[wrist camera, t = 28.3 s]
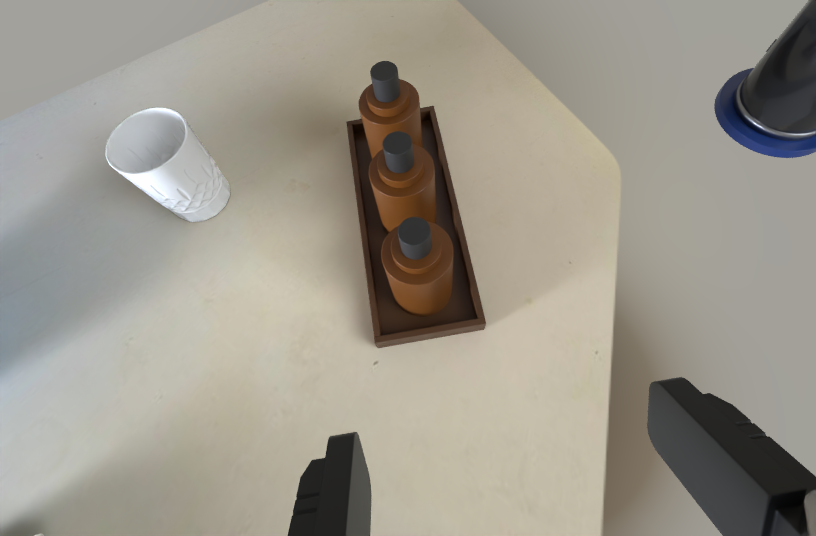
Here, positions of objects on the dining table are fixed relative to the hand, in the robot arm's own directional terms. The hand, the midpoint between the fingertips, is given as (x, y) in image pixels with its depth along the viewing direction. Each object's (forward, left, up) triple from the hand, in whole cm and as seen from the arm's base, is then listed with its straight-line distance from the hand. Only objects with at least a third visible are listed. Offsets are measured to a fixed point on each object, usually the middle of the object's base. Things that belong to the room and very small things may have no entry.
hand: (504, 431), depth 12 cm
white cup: (+33, -20, -27) cm, 47 cm away
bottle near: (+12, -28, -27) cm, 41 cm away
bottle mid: (+9, -21, -27) cm, 35 cm away
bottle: (+6, -13, -27) cm, 30 cm away
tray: (+9, -21, -27) cm, 35 cm away
